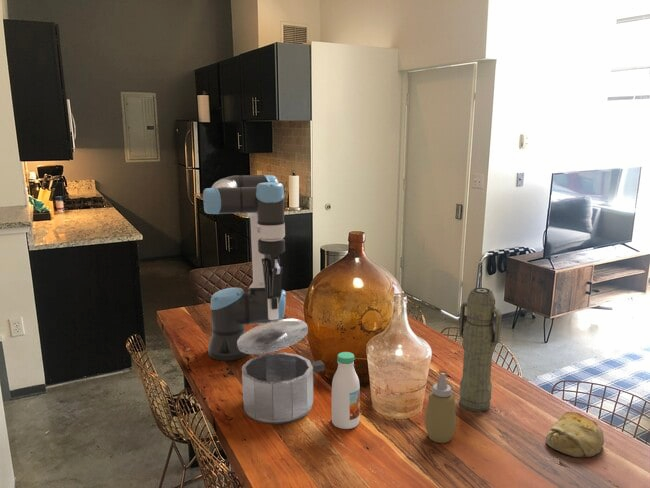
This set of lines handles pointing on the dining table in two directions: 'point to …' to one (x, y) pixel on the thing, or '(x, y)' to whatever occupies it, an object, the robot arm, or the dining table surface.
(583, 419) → the pastry
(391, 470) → the dining table surface
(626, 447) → the dining table surface
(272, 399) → the pot
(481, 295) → the thermos
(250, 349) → the lid
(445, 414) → the squeeze bottle
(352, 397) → the milk bottle
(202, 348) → the dining table surface
